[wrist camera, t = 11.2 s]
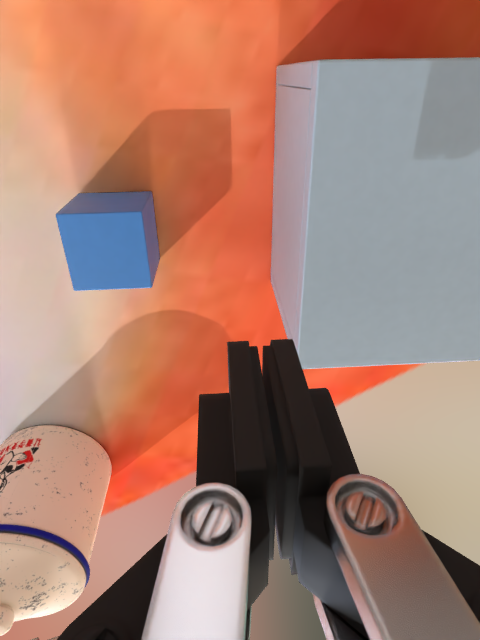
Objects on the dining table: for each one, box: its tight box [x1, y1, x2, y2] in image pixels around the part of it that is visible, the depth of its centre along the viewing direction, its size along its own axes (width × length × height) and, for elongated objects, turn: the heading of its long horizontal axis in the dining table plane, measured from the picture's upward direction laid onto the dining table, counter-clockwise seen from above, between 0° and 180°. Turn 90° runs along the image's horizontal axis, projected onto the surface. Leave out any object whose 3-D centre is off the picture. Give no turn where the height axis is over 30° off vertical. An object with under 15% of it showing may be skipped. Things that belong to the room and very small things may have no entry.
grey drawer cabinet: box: [271, 57, 480, 369], centre depth 20 cm, size 14×12×9 cm
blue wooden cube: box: [56, 191, 160, 291], centre depth 22 cm, size 4×4×4 cm
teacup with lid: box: [0, 425, 112, 636], centre depth 28 cm, size 12×9×12 cm
